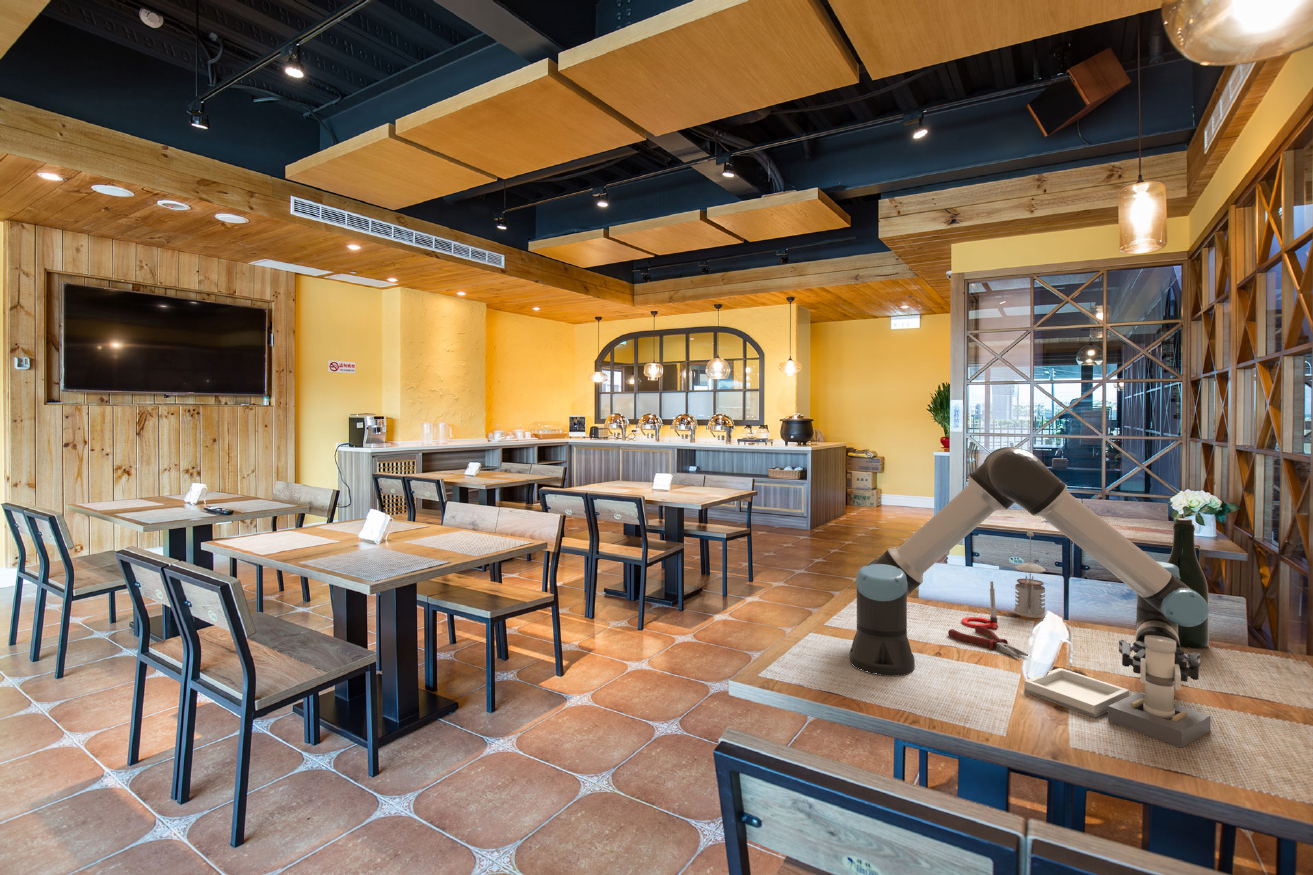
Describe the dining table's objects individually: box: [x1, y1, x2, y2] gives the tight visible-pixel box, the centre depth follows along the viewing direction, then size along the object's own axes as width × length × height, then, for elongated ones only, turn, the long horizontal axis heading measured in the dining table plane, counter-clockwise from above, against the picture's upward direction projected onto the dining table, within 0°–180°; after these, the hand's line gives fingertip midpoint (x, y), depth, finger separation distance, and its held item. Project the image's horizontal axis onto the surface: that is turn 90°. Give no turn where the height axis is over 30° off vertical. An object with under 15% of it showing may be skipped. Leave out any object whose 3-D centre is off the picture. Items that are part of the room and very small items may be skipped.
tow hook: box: [960, 580, 999, 630], centre depth 184 cm, size 8×13×9 cm
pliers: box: [947, 626, 1029, 659], centre depth 167 cm, size 12×20×3 cm, turn 17°
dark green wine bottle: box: [1166, 517, 1210, 650], centre depth 167 cm, size 10×10×33 cm
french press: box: [1011, 531, 1047, 619], centre depth 193 cm, size 10×12×25 cm
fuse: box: [1143, 635, 1176, 720], centre depth 122 cm, size 5×5×15 cm
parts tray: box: [1023, 667, 1130, 719], centre depth 136 cm, size 14×14×2 cm
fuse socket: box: [1107, 692, 1212, 749], centre depth 123 cm, size 12×12×4 cm
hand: (1160, 678), depth 118 cm, fingers closed on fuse, 4 cm apart
